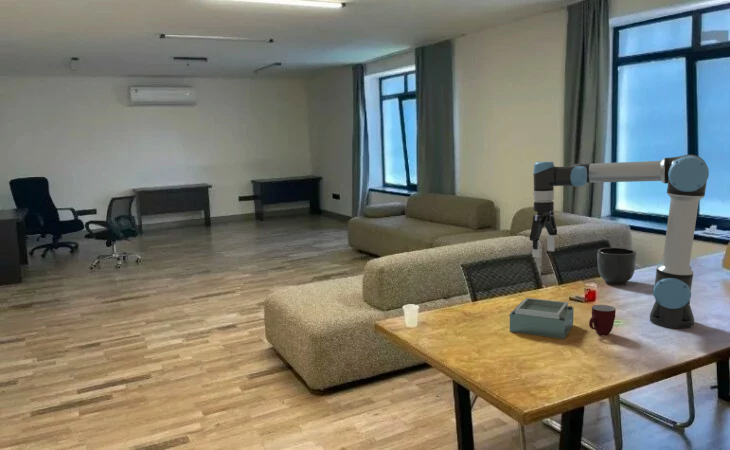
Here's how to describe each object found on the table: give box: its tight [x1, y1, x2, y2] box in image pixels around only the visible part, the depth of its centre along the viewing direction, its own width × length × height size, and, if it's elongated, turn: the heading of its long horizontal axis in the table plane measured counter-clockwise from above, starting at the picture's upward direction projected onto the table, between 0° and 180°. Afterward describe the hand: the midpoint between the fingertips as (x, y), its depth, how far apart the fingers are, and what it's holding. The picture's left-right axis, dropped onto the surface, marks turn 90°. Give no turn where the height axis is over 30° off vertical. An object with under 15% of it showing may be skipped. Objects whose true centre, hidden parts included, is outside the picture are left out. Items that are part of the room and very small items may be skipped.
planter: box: [596, 247, 637, 286], centre depth 275 cm, size 17×17×16 cm
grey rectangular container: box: [509, 297, 575, 340], centre depth 218 cm, size 20×17×9 cm
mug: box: [588, 304, 616, 337], centre depth 208 cm, size 11×8×10 cm
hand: (543, 254), depth 227 cm, fingers open, 13 cm apart
